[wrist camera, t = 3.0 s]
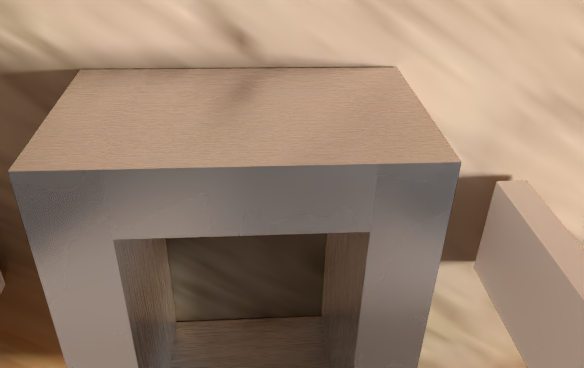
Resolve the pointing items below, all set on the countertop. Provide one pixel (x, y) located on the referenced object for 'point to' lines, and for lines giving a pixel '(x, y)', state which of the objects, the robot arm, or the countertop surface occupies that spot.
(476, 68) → the countertop surface
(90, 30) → the countertop surface
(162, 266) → the end link
